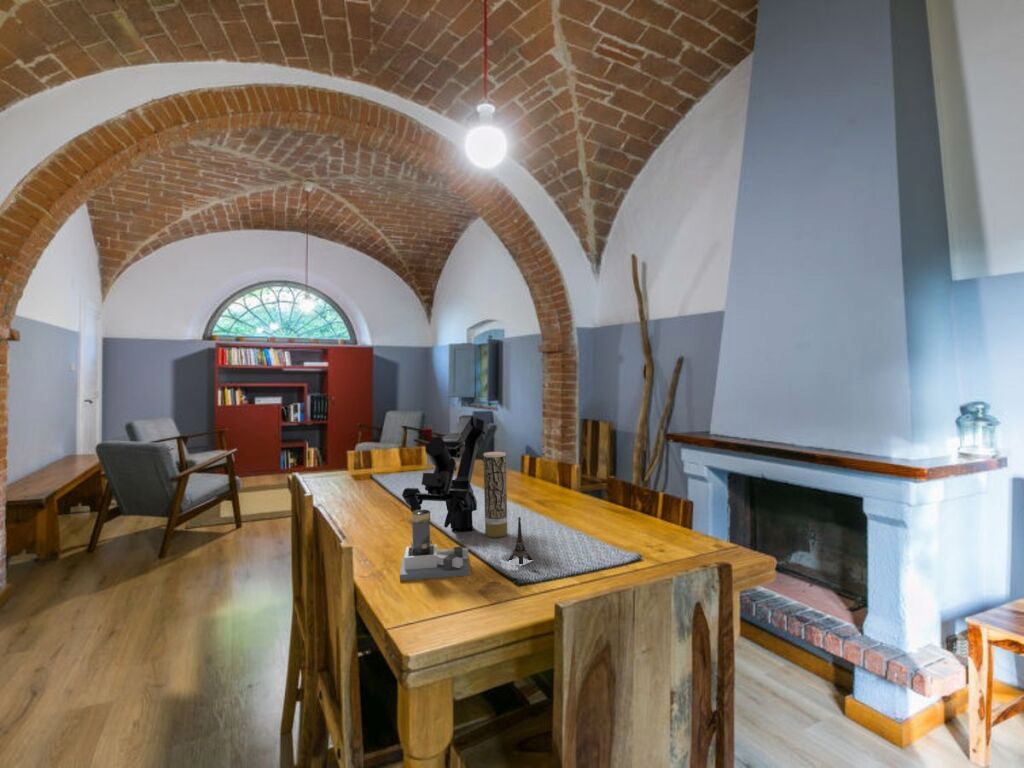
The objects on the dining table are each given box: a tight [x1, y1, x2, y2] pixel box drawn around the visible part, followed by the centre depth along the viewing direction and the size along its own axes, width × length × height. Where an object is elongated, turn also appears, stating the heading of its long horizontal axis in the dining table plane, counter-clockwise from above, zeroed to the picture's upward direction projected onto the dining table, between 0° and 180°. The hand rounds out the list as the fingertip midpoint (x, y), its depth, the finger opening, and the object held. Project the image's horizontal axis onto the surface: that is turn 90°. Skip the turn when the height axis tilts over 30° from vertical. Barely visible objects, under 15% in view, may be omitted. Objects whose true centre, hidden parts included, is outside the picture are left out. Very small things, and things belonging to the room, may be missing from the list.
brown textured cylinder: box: [483, 451, 508, 538], centre depth 156 cm, size 7×7×25 cm
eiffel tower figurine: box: [508, 516, 534, 564], centre depth 134 cm, size 15×10×13 cm
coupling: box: [410, 509, 433, 556], centre depth 131 cm, size 5×5×13 cm
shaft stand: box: [399, 544, 471, 582], centre depth 131 cm, size 17×15×4 cm
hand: (429, 526), depth 136 cm, fingers open, 9 cm apart
